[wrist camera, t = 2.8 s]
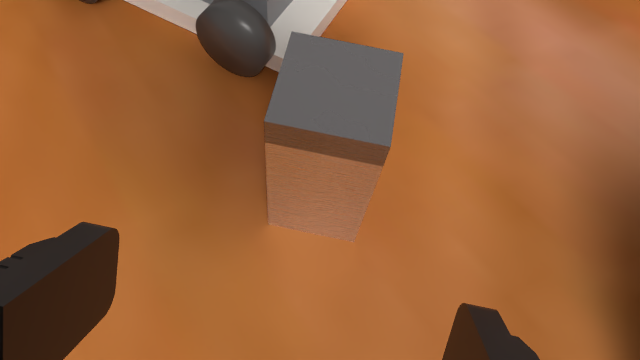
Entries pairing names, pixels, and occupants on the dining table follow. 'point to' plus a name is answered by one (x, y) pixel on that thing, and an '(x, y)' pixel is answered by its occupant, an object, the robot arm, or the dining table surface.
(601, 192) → the dining table surface
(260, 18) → the car chassis
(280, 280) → the dining table surface
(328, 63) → the grey-topped square pillar
